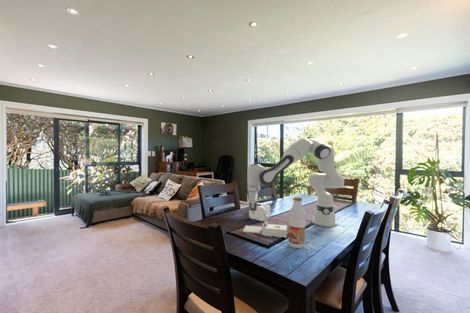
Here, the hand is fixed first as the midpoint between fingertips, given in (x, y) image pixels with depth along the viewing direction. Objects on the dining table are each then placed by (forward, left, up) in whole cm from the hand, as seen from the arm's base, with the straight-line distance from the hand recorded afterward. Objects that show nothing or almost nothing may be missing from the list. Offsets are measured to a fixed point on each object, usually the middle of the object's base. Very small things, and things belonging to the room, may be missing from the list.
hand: (253, 206), depth 155 cm
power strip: (+4, +15, -16) cm, 22 cm away
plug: (0, +2, -5) cm, 5 cm away
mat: (0, 0, -16) cm, 16 cm away
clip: (-1, +9, -11) cm, 14 cm away
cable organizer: (-27, +2, -17) cm, 32 cm away
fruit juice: (+18, +28, -17) cm, 37 cm away
